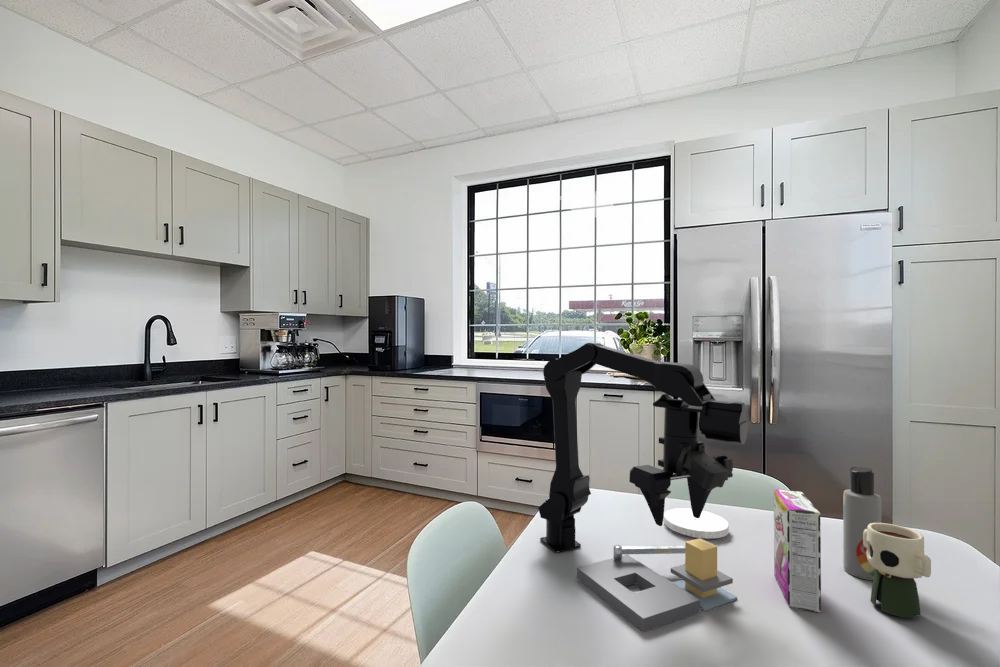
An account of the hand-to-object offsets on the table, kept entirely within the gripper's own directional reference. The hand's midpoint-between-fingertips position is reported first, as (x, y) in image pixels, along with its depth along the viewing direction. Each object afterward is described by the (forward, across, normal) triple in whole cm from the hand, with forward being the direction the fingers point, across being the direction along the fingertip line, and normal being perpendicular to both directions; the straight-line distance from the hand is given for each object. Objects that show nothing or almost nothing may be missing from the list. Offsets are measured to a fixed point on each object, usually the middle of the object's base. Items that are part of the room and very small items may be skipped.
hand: (678, 521), depth 81 cm
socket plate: (+12, -9, +1) cm, 15 cm away
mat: (+11, +2, -4) cm, 12 cm away
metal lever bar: (+9, +1, +5) cm, 11 cm away
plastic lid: (+12, +24, +16) cm, 31 cm away
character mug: (+11, +27, -21) cm, 36 cm away
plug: (+11, +2, -4) cm, 12 cm away
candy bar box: (+11, +17, -11) cm, 23 cm away
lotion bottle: (+11, +36, -12) cm, 39 cm away
